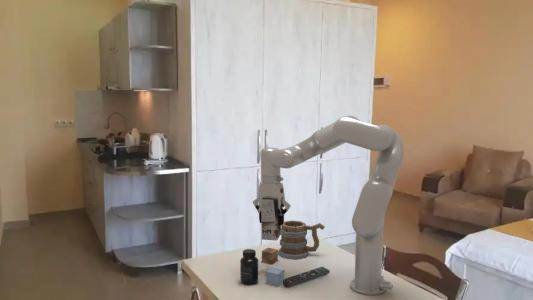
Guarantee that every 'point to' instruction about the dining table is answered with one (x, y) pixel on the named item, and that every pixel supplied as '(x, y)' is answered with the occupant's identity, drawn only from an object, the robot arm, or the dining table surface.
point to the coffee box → (270, 219)
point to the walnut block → (269, 255)
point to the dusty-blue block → (274, 276)
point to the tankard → (297, 239)
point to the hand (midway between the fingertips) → (271, 223)
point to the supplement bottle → (249, 267)
